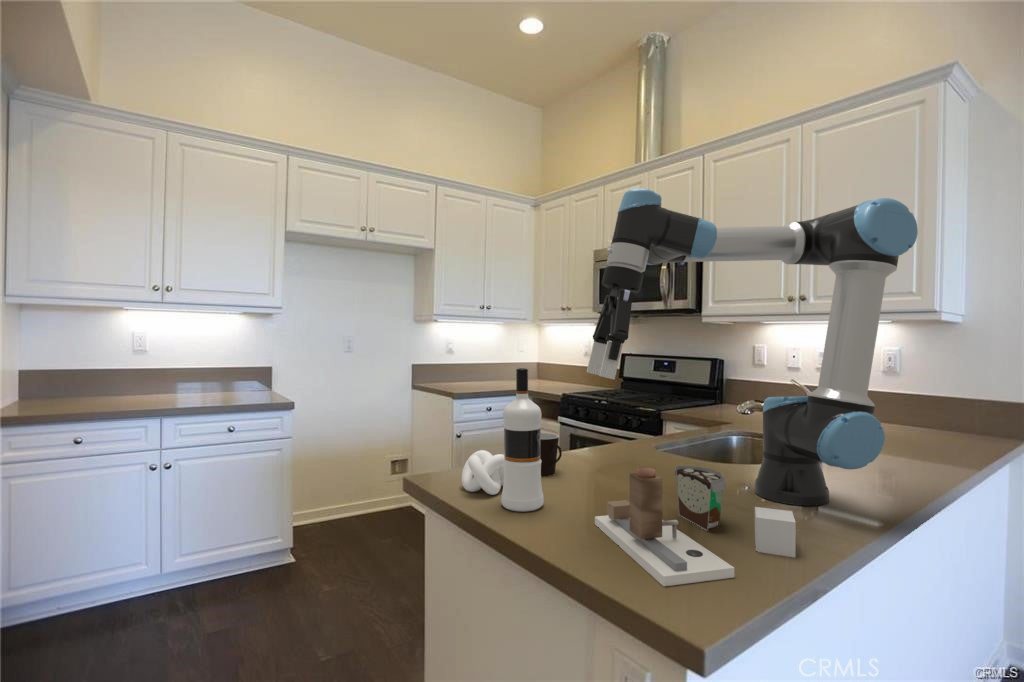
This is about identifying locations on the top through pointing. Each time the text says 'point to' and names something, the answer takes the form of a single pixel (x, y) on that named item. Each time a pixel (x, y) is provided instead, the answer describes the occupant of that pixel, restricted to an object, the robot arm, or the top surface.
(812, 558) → the top surface
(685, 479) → the food container
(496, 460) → the white decorative knot
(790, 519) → the white cube
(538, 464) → the vodka
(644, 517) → the sliding handle
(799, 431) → the robot arm
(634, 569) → the top surface
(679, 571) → the board
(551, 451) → the coffee mug
